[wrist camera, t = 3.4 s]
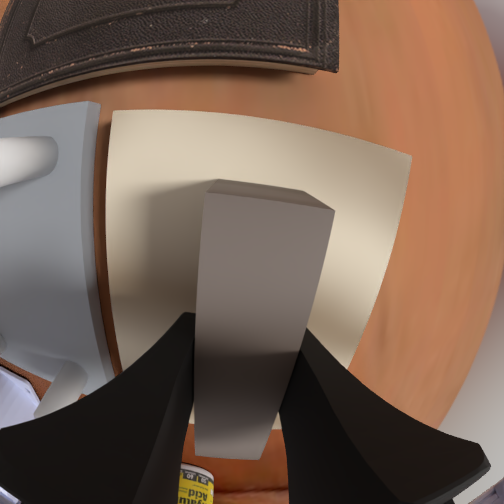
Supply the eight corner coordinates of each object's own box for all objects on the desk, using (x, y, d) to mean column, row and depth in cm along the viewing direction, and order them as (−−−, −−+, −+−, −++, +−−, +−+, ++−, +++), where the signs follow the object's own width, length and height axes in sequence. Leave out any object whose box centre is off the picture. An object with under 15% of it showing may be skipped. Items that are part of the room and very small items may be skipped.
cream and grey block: (311, 408, 14) (326, 470, 10) (139, 393, 13) (120, 455, 9) (391, 154, 9) (471, 163, 5) (130, 115, 8) (59, 97, 4)
